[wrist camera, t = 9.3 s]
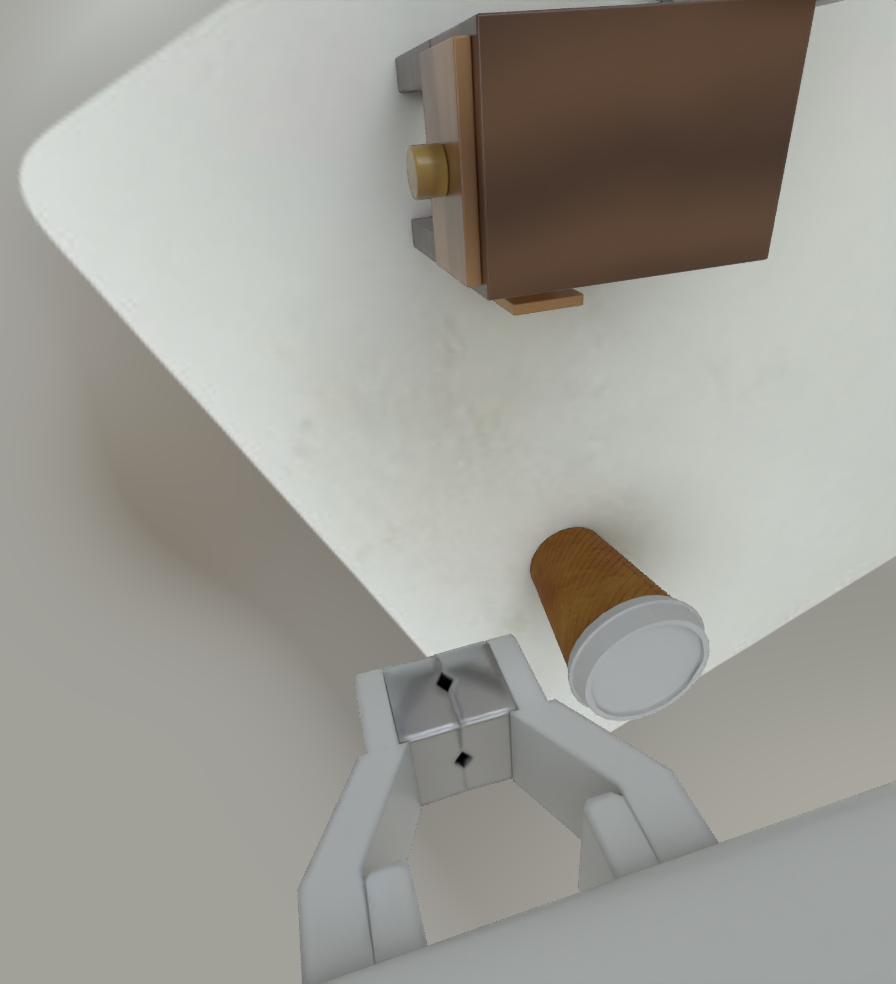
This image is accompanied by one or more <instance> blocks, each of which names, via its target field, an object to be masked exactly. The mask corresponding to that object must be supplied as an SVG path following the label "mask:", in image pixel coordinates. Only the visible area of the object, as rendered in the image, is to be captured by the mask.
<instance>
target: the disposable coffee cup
mask: <svg viewBox="0 0 896 984" xmlns="http://www.w3.org/2000/svg"><path fill="white" fill-rule="evenodd" d="M530 573H531V578H532V580H533V582H534V585H535V587H536V590H537V592H538V595H539V597H540V599H541V602H542V604H543V607H544V609H545V612H546V615H547V617H548V620H549V622H550V625H551V627H552V630H553V632H554V634H555V637H556V640H557V642H558V645H559V647H560V650H561V652H562V654H563V657H564V660H565V662H566V665H567V667H568V680H569V684H570V689H571V691H572V693H573V695H574V696H575V698H576V699H577V700H578V701H579V702H580V703H582V704H583V705H584V706H586V707H589V708H590V709H591V710H592V711H593V712H594V713H595V714H596V715H598V716H600V717H602V718H605V719H608V720H615V721H625V720H633V719H638V718H641V717H644V716H647V715H651V714H654V713H655V712H657V711H659V710H661V709H663V708H665V707H667V706H668V705H670V704H671V703H673V702H674V701H676V700H677V699H678V698H680V697H681V696H682V695H683V694H684V693H685V692H686V691H687V690H688V689H689V688H690V687H691V686H693V684H694V683H695V682H696V680H697V679H698V678H699V676H700V675H701V673H702V671H703V670H704V668H705V666H706V663H707V660H708V657H709V640H708V638H707V636H706V634H705V632H704V624H703V621H702V618H701V617H700V615H699V614H698V612H697V611H696V610H695V609H694V608H693V607H692V606H690V605H688V604H686V603H684V602H683V601H679V600H677V599H675V598H672V597H671V596H670V595H667V593H666V592H665V591H664V590H661V588H660V587H659V586H658V585H655V583H654V582H653V581H652V580H650V579H649V578H648V577H647V576H646V575H644V573H643V572H641V571H640V570H639V569H638V568H636V567H635V566H633V564H632V563H631V562H629V561H628V560H627V559H626V558H625V557H623V556H622V555H621V554H620V553H618V551H616V550H615V549H613V547H612V546H610V545H609V544H608V543H607V542H606V541H604V540H603V539H602V538H601V537H600V536H599V535H598V534H597V533H595V532H594V531H592V530H590V529H586V528H570V529H566V530H563V531H560V532H558V533H556V534H554V535H552V536H551V537H550V538H549V539H547V540H546V541H545V542H544V543H543V544H542V545H541V546H540V547H539V548H538V550H537V551H536V553H535V555H534V557H533V559H532V562H531V568H530Z"/></svg>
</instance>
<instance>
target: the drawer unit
mask: <svg viewBox="0 0 896 984" xmlns="http://www.w3.org/2000/svg"><path fill="white" fill-rule="evenodd" d="M815 4H816V0H702V1H685V2H668V3H651V4H634V5H616V6H599V7H582V8H565V9H547V10H530V11H513V12H496V13H478V14H477V15H475V16H473V17H471V18H469V19H467V20H465V21H464V22H462V23H460V24H458V25H456V26H454V27H452V28H451V29H449V30H447V31H445V32H443V33H441V34H439V35H438V36H436V37H434V38H432V39H430V40H428V41H426V42H424V43H423V44H421V45H419V46H417V47H415V48H413V49H411V50H410V51H408V52H406V53H404V54H402V55H400V56H398V57H397V58H396V59H395V60H396V70H397V80H398V90H399V92H412V91H422V94H423V106H424V118H425V130H426V143H427V144H422V145H412V146H410V147H409V148H408V151H407V174H408V181H409V186H410V190H411V194H412V196H413V198H414V199H415V200H422V199H431V204H432V216H433V217H427V218H418V219H412V220H411V223H412V233H413V243H414V247H415V248H417V249H418V250H419V251H421V252H422V253H424V254H425V255H426V256H428V257H429V258H430V259H432V260H433V261H435V262H436V263H437V265H438V266H440V267H441V268H442V269H444V270H445V271H447V272H448V273H449V274H451V275H452V276H453V277H455V278H456V279H457V280H459V281H460V282H461V283H463V284H464V285H466V286H467V287H471V288H472V289H474V290H475V291H476V292H478V293H479V294H480V295H482V296H483V297H485V298H486V299H487V300H497V299H504V298H510V297H517V296H524V295H530V294H537V293H544V292H551V291H557V290H564V289H571V288H577V287H584V286H591V285H598V284H604V283H611V282H618V281H625V280H631V279H638V278H645V277H651V276H658V275H665V274H672V273H678V272H685V271H692V270H698V269H705V268H712V267H719V266H725V265H732V264H739V263H745V262H752V261H759V260H765V259H767V258H768V253H769V248H770V242H771V237H772V232H773V226H774V221H775V216H776V211H777V205H778V200H779V195H780V189H781V184H782V179H783V174H784V168H785V163H786V158H787V152H788V147H789V142H790V137H791V131H792V126H793V121H794V115H795V110H796V105H797V100H798V94H799V89H800V84H801V78H802V73H803V68H804V63H805V57H806V52H807V47H808V41H809V36H810V31H811V26H812V20H813V15H814V10H815Z"/></svg>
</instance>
